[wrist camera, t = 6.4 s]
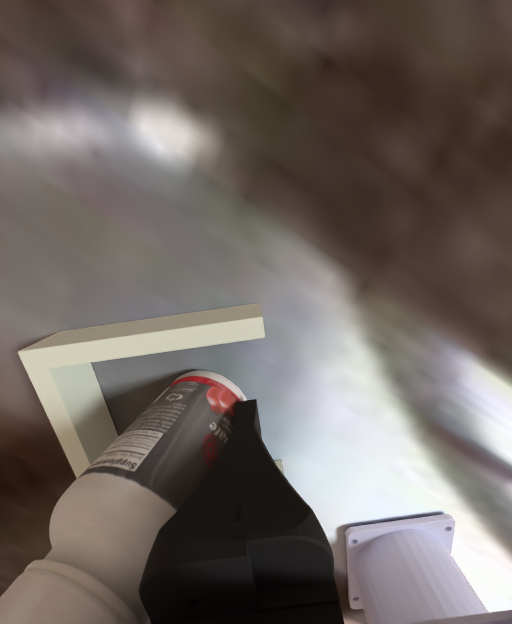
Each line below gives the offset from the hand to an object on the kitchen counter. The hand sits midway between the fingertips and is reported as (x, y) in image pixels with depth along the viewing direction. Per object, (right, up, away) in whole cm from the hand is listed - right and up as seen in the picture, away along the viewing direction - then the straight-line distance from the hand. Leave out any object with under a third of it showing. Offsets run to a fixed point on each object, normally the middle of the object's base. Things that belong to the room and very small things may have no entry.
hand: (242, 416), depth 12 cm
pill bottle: (-2, 0, +2) cm, 3 cm away
